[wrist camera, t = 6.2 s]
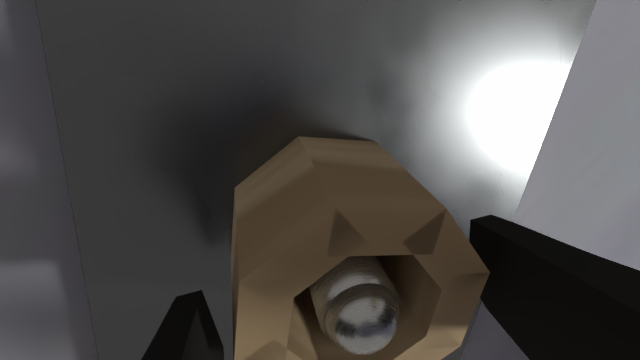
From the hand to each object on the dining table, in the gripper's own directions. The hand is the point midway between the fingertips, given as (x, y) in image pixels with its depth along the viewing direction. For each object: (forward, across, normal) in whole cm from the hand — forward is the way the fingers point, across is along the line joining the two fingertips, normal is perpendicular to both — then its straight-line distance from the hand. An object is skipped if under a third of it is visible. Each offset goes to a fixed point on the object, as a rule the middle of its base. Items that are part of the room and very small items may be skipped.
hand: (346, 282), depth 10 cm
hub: (+3, 0, 0) cm, 3 cm away
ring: (+2, 0, 0) cm, 2 cm away
